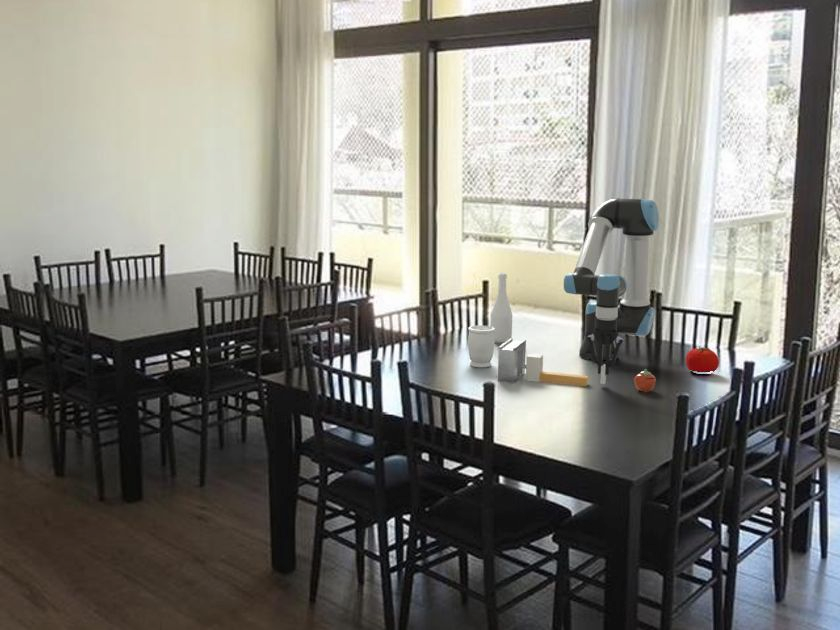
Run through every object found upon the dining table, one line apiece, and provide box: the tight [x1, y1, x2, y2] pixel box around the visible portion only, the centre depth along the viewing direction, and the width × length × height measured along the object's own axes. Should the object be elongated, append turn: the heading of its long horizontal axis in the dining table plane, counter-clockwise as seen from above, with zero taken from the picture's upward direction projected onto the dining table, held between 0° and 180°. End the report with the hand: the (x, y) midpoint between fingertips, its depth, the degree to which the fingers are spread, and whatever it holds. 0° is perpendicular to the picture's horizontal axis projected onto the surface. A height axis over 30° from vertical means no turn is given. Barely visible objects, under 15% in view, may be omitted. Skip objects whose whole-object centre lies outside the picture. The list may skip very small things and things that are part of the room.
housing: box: [497, 337, 527, 384], centre depth 323 cm, size 6×16×13 cm, turn 159°
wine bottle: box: [489, 272, 513, 344], centre depth 381 cm, size 10×10×30 cm
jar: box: [467, 325, 496, 369], centre depth 339 cm, size 11×10×15 cm
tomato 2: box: [633, 368, 657, 392], centre depth 307 cm, size 7×7×8 cm
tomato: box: [685, 345, 720, 372], centre depth 331 cm, size 11×13×10 cm
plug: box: [521, 353, 589, 387], centre depth 317 cm, size 24×5×9 cm, turn 69°
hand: (602, 383), depth 312 cm, fingers closed
